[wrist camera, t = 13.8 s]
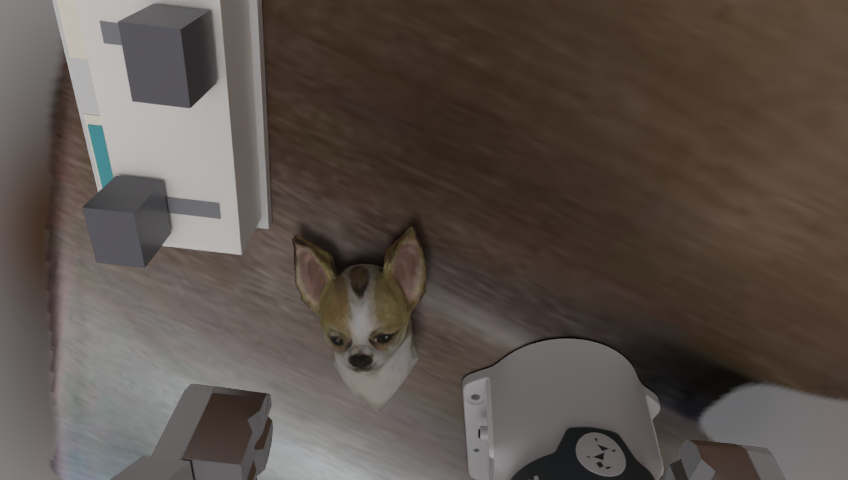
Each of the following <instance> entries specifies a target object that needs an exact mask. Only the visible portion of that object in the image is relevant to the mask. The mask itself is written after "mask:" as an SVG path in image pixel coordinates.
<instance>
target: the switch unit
mask: <svg viewBox="0 0 848 480" xmlns="http://www.w3.org/2000/svg"><path fill="white" fill-rule="evenodd" d="M52 1H53V5H54V9H55V14H56V18H57V22H58V26H59V30H60V35H61V39H62V43H63V47H64V51H65V56H66V60H67V64H68V68H69V72H70V76H71V81H72V85H73V89H74V93H75V97H76V102H77V106H78V110H79V114H80V118H81V122H82V127H83V131H84V135H85V139H86V143H87V148H88V152H89V156H90V160H91V164H92V168H93V173H94V177H95V181H96V185H97V189H98V192H99V191H100V190H101V189H102V188H103V187H104V186H106V185H107V184H108V183H109V182H110V181H111V180H112V179H113V178H114V177H115V176H123V177H132V178H140V179H149V180H157V181H163V185H164V191H165V197H166V204H167V210H168V216H169V222H170V228H171V234H170V235H169V237H168V238H167V239H166V241H165V242H164V243H163V245H162V246H169V247H177V248H186V249H194V250H203V251H212V252H220V253H229V254H238V255H242V254H243V252H244V250H245V248H246V246H247V244H248V242H249V241H250V239H251V237H252V235H253V233H254V231H255V229H256V228H263V229H269V228H270V226H271V224H272V208H271V187H270V166H269V144H268V123H267V102H266V80H265V59H264V38H263V17H262V0H52ZM154 3H155V4H164V5H172V6H180V7H188V8H196V9H204V10H210V15H211V25H212V36H213V46H214V57H215V67H216V78H217V83H216V84H215V85H214V86H213V87H212V88H211V89H210V90H209V91H208V92H207V93H206V94H205V95H204V96H203V97H202V98H201V99H200V100H199V101H197V102H196V103H195V104H194V105H193V106H192V107H191V108H183V107H175V106H166V105H158V104H150V103H142V102H133V101H132V97H131V92H130V86H129V81H128V75H127V70H126V64H125V59H124V53H123V48H122V42H121V37H120V31H119V26H118V21H120V20H122V19H124V18H126V17H128V16H130V15H132V14H134V13H136V12H138V11H140V10H142V9H144V8H146V7H148V6H150V5H152V4H154Z"/></svg>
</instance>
